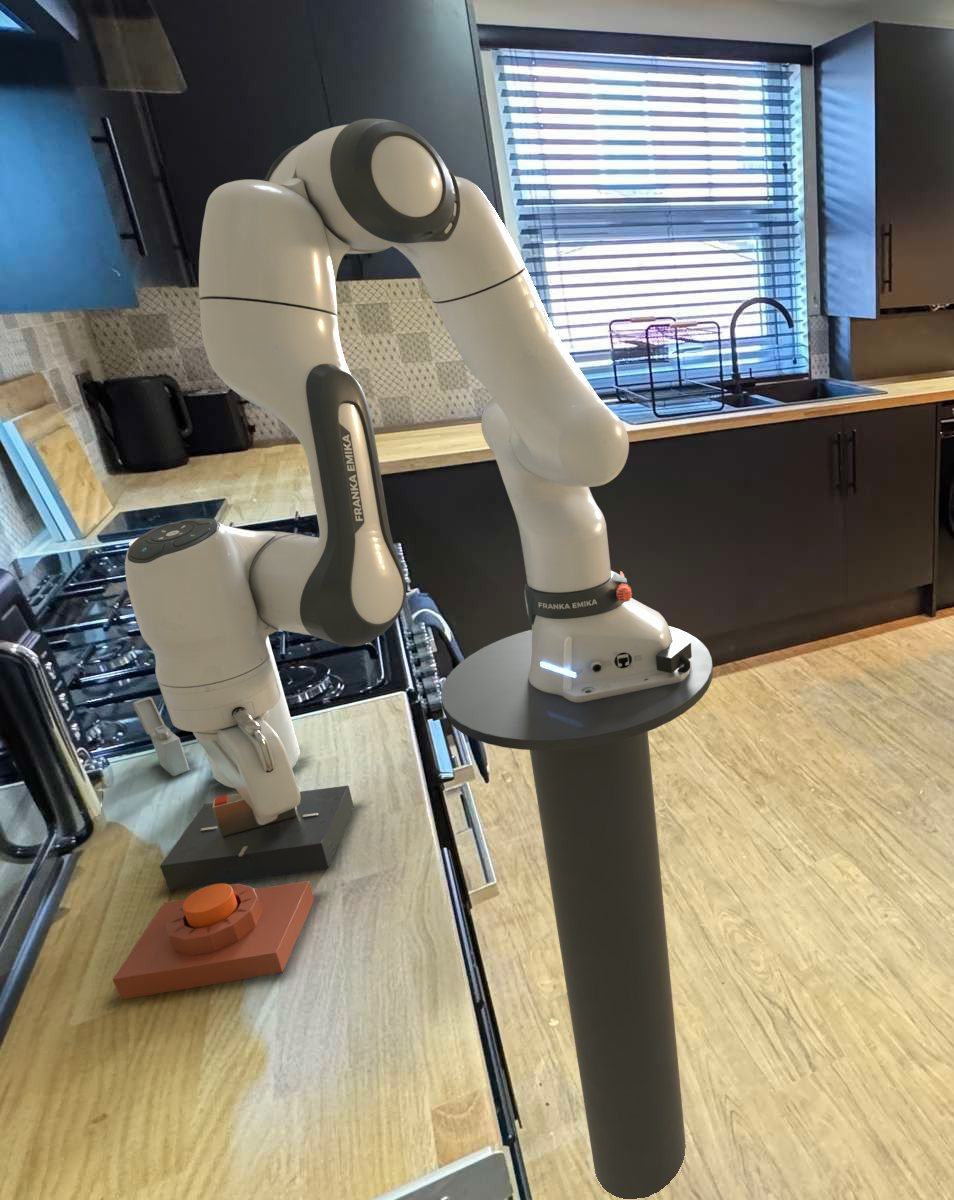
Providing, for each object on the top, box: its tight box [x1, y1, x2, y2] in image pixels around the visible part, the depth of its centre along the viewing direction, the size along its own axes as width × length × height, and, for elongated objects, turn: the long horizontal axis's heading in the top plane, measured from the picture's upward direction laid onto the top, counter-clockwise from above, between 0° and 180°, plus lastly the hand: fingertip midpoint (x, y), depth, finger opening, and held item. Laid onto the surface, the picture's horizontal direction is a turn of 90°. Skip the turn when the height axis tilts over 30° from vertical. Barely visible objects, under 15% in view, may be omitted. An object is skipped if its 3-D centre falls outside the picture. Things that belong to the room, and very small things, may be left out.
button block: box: [112, 880, 315, 1000], centre depth 73 cm, size 12×9×4 cm
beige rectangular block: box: [212, 792, 297, 837], centre depth 84 cm, size 6×2×4 cm, turn 120°
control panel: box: [159, 785, 355, 892], centre depth 86 cm, size 14×11×3 cm
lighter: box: [132, 696, 190, 777], centre depth 99 cm, size 7×2×8 cm, turn 53°
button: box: [183, 883, 238, 929], centre depth 72 cm, size 4×4×2 cm
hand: (261, 813), depth 85 cm, fingers closed on beige rectangular block, 2 cm apart
